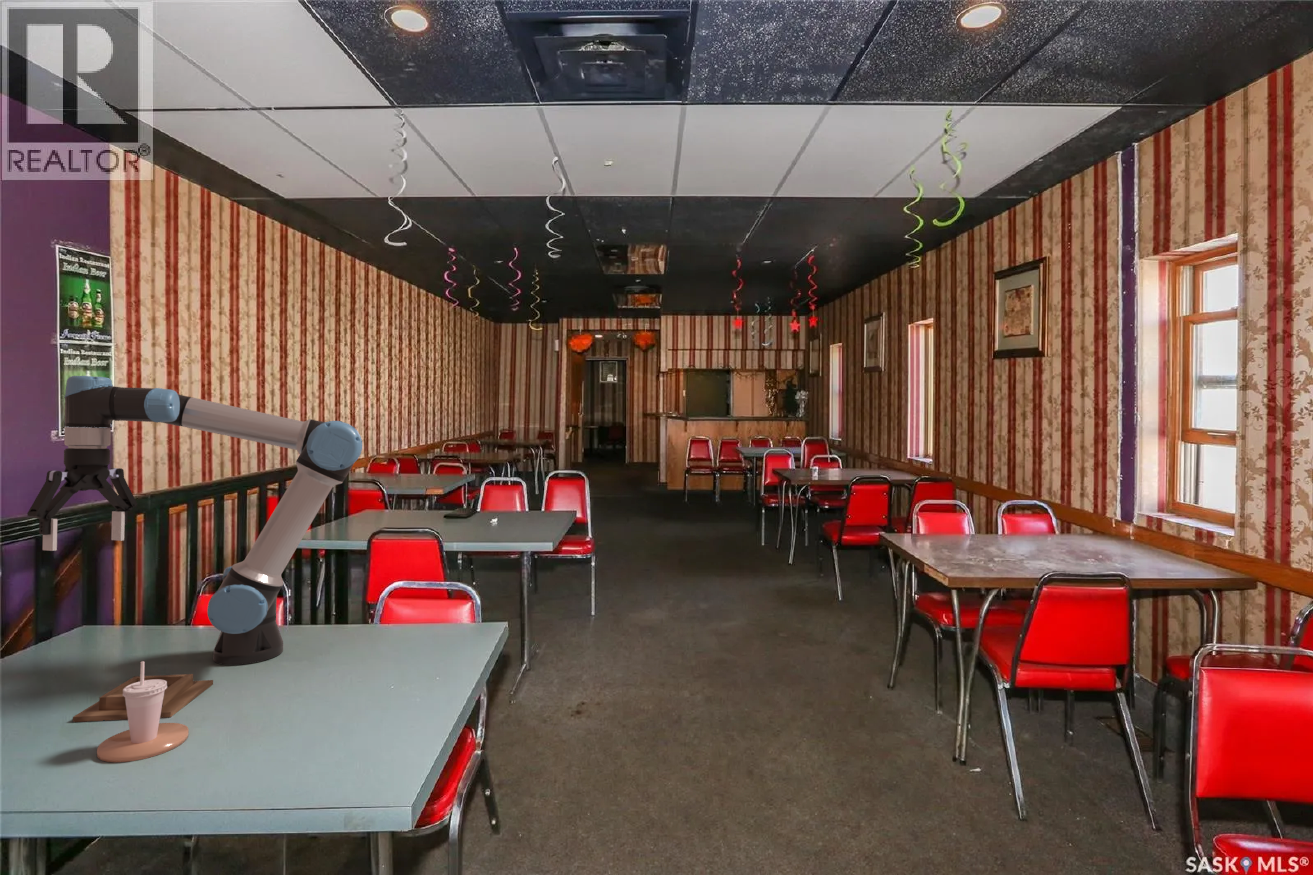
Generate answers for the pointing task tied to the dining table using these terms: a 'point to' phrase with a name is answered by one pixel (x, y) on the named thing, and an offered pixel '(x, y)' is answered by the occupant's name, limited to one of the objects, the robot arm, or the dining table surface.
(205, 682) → the cup holder
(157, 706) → the smoothie
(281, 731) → the dining table surface
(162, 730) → the coaster
